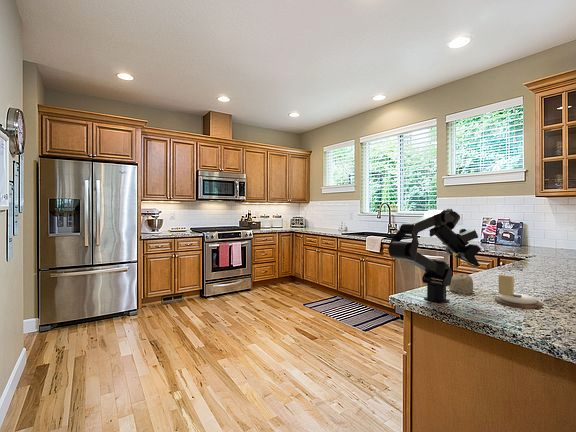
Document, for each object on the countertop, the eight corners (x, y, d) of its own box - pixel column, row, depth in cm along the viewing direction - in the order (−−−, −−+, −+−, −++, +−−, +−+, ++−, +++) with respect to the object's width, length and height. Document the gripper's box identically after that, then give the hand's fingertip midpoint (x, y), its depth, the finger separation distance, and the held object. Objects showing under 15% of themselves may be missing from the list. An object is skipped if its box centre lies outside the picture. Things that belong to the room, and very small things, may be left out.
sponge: (470, 303, 126) (484, 283, 126) (451, 290, 126) (465, 270, 126) (458, 297, 135) (471, 278, 135) (440, 284, 135) (453, 266, 135)
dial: (528, 306, 105) (528, 281, 105) (492, 298, 115) (492, 276, 115) (542, 301, 110) (542, 278, 110) (506, 294, 120) (506, 273, 120)
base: (532, 311, 103) (532, 307, 103) (487, 301, 115) (487, 298, 115) (549, 304, 110) (549, 301, 110) (505, 295, 122) (505, 293, 122)
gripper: (475, 222, 108) (508, 254, 107) (453, 221, 127) (481, 248, 126) (451, 244, 109) (484, 275, 108) (433, 240, 128) (461, 267, 126)
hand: (478, 265), depth 117 cm, fingers closed
